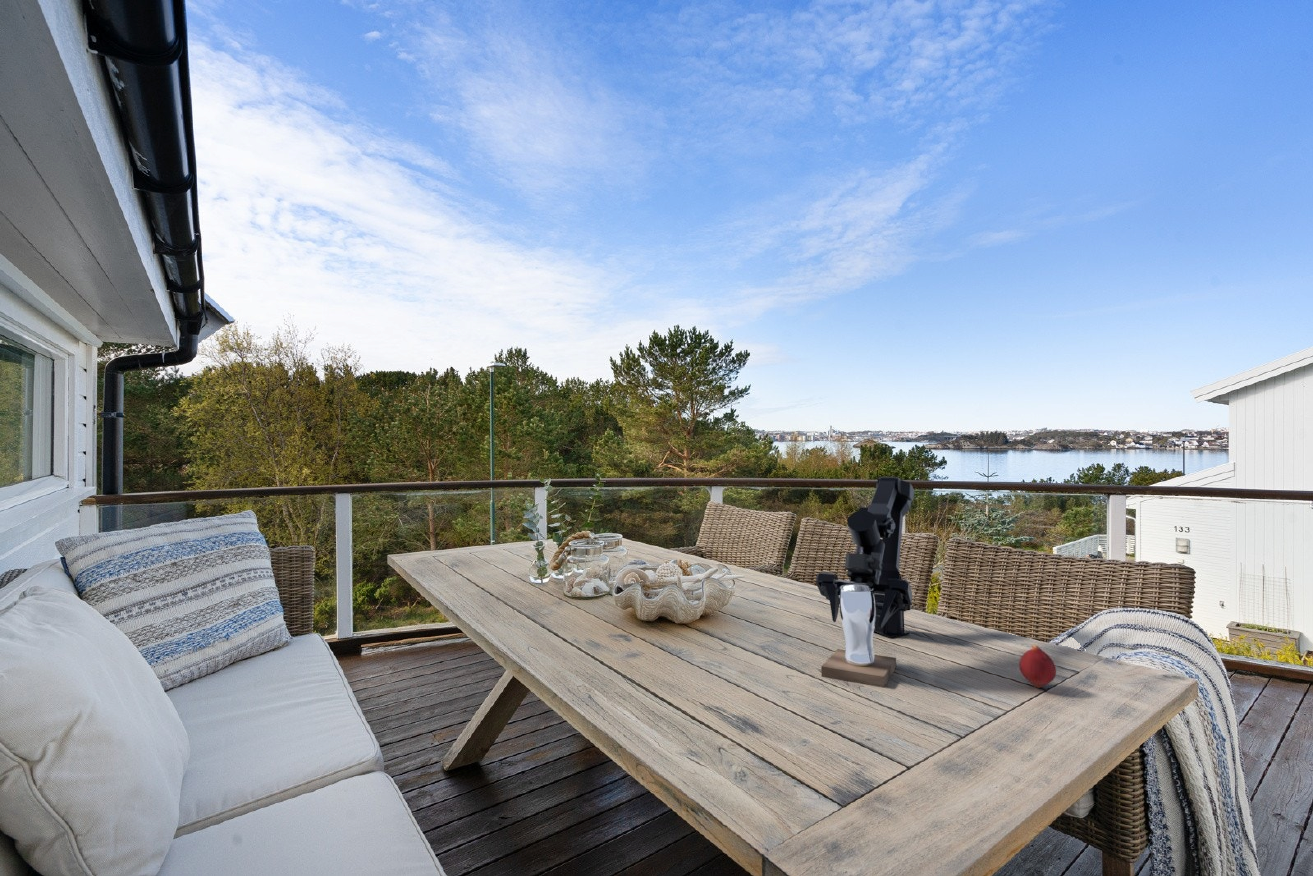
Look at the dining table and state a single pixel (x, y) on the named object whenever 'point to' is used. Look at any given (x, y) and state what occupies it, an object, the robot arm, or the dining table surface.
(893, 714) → the dining table surface
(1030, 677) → the onion
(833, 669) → the walnut board
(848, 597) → the beer glass
